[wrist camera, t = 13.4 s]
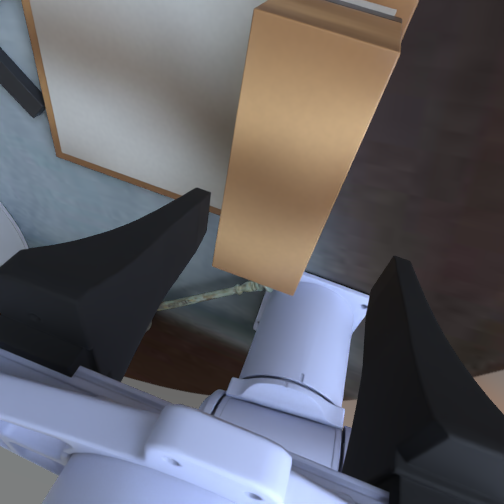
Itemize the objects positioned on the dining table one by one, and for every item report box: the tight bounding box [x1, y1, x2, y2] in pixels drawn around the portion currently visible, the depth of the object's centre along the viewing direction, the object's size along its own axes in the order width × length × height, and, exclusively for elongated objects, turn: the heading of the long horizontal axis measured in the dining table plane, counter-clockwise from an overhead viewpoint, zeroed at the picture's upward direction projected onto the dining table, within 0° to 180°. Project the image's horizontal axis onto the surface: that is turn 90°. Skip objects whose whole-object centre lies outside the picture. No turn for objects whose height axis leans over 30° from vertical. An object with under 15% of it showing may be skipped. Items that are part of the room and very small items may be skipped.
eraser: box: [212, 0, 402, 296], centre depth 18 cm, size 13×5×6 cm, turn 169°
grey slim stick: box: [146, 281, 273, 331], centre depth 34 cm, size 22×3×7 cm
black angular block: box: [0, 48, 46, 118], centre depth 24 cm, size 4×2×1 cm, turn 37°
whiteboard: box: [21, 0, 419, 215], centre depth 21 cm, size 15×20×1 cm
